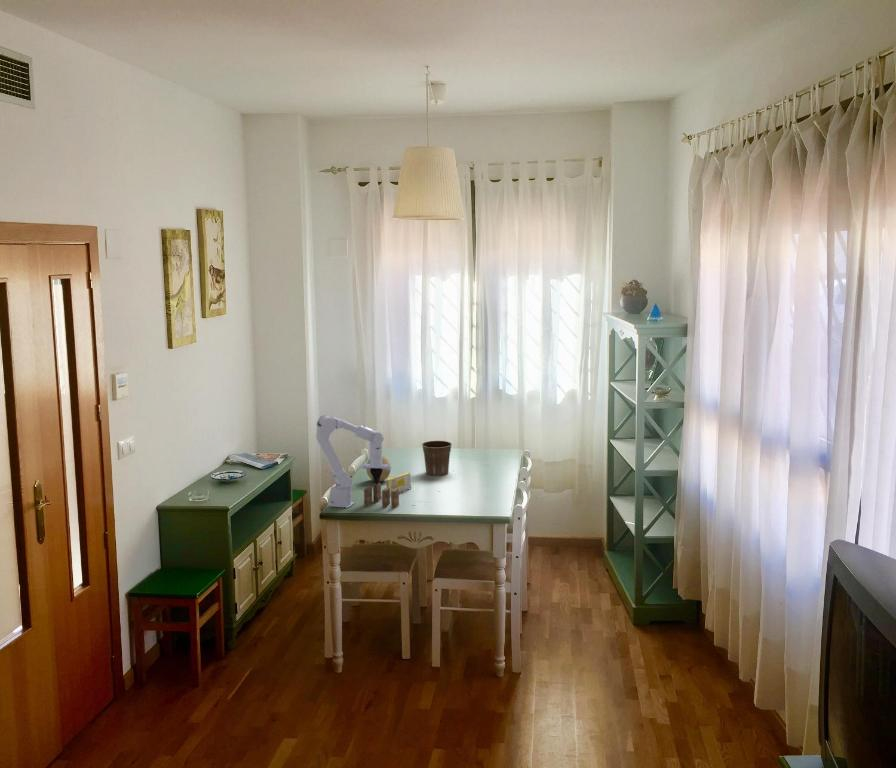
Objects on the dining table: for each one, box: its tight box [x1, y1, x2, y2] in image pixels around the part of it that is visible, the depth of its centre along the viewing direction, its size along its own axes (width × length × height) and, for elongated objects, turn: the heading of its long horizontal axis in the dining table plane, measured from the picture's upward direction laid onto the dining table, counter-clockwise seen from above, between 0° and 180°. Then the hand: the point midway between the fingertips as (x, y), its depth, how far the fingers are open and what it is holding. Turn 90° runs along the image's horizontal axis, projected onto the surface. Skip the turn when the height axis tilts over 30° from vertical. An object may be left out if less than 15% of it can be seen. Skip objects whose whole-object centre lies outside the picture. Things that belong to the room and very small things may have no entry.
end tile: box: [363, 486, 373, 507], centre depth 408 cm, size 2×5×8 cm, turn 164°
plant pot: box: [421, 440, 453, 477], centre depth 464 cm, size 16×16×16 cm
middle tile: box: [381, 487, 391, 508], centre depth 406 cm, size 2×5×8 cm, turn 164°
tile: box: [372, 482, 382, 503], centre depth 414 cm, size 2×5×8 cm, turn 164°
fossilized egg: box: [365, 453, 392, 483], centre depth 449 cm, size 13×13×15 cm
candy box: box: [385, 472, 412, 496], centre depth 429 cm, size 16×2×8 cm, turn 141°
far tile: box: [390, 488, 400, 509], centre depth 404 cm, size 2×5×8 cm, turn 164°
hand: (376, 483), depth 414 cm, fingers closed
